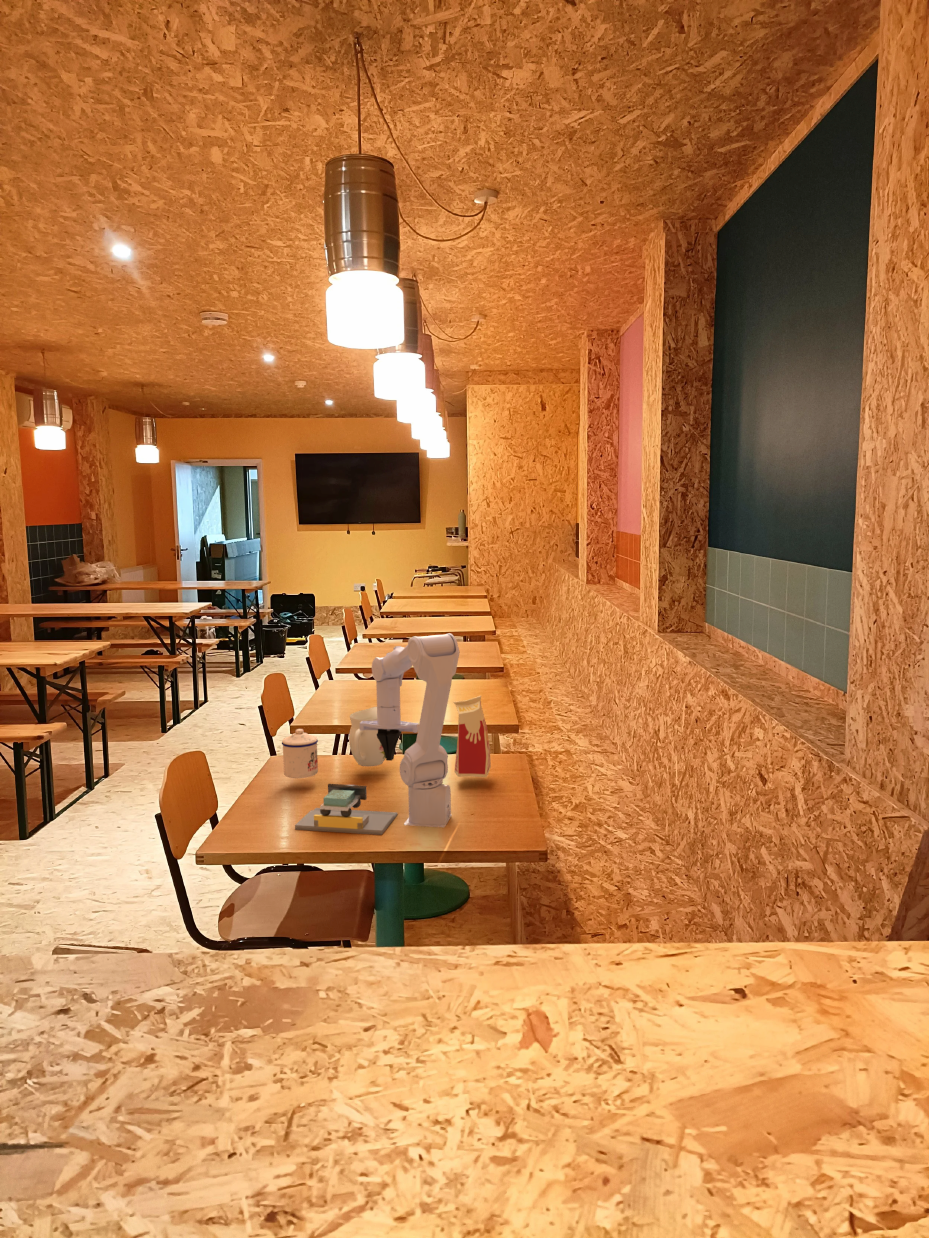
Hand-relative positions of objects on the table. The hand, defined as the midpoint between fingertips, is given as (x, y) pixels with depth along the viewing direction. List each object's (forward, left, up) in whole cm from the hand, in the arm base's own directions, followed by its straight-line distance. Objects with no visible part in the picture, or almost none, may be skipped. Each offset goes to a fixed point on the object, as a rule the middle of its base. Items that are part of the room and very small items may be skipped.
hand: (389, 759), depth 197 cm
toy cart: (+5, +21, -6) cm, 23 cm away
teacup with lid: (+25, -5, -6) cm, 27 cm away
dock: (+5, +18, -9) cm, 21 cm away
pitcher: (+10, -15, -6) cm, 19 cm away
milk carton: (-18, -12, -6) cm, 23 cm away
